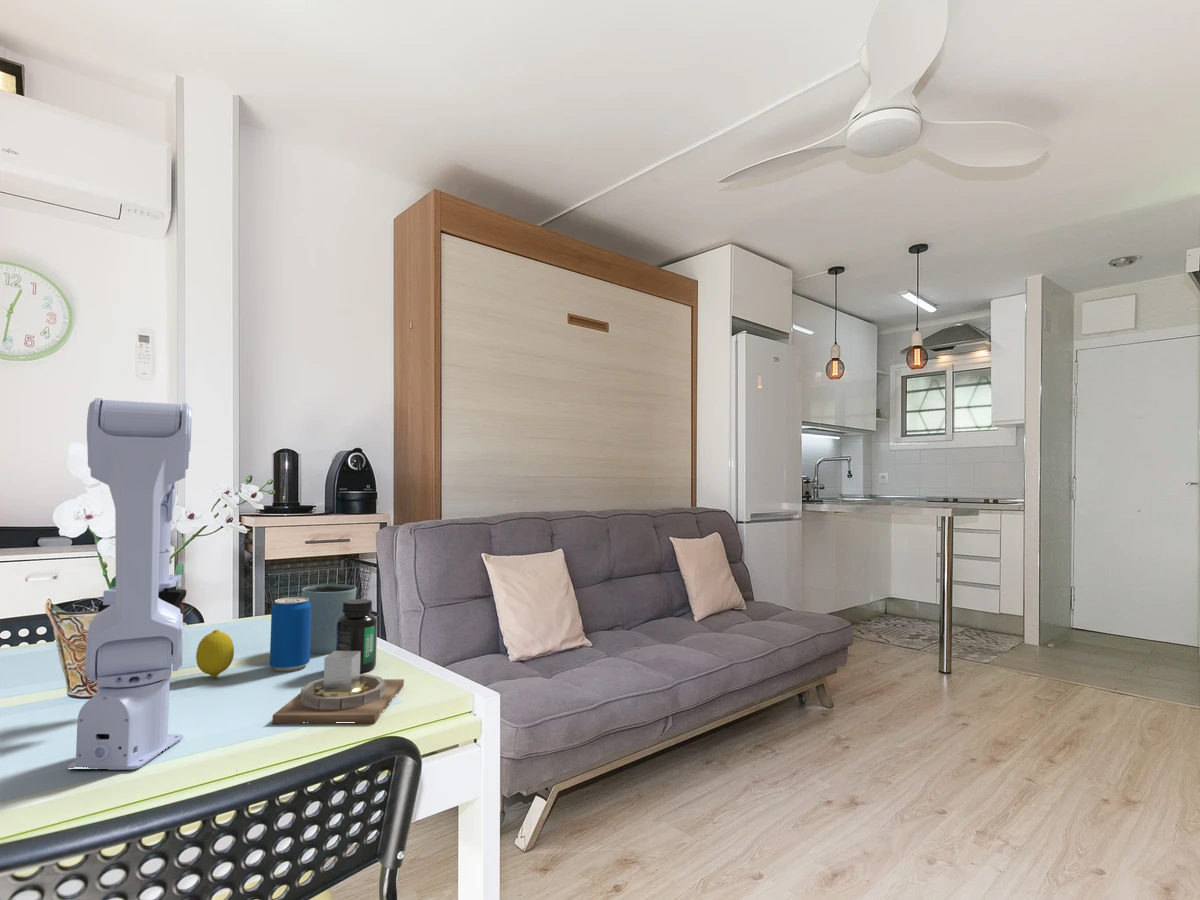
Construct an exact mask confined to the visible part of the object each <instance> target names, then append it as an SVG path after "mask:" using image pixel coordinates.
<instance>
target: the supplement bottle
mask: <svg viewBox="0 0 1200 900" xmlns="http://www.w3.org/2000/svg"><path fill="white" fill-rule="evenodd" d="M372 607H373V601H372V600H371V599H369V598H355V599H352V600H347V601H344V602H343V610H342V612H343V613H344V616H342V617H341V618H339V620H338V621H337V625H336V651H361V654H360V674H364V673H367V671H368V672H370V671H369V670H371V671H373V670H374V669H375V668H376V666H377V665H376V664H377V644H378V643H377V642H378V638H377V635H378V619H377V618H376V616H375V615H373V614H371V612H372V611H373V608H372ZM373 668H374V669H373ZM363 672H364V673H363Z"/></svg>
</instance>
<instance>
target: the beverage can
mask: <svg viewBox="0 0 1200 900" xmlns="http://www.w3.org/2000/svg"><path fill="white" fill-rule="evenodd" d="M308 600H309V598H306V597H302V596H291V597H282V598H278V599H275V600H274V604H273V605H272V607H271V612H270V613H271V614H270V615H271V617H270V623H271V624H270V644H269V645H270V649H269V666H270V667H271V668H273V669H274V670H275V671H276V672H293V671H297V670H301V669H303V668H305V667H306V665H307V664H309V663H310V658H311V656H310V655H311V654H310V630H311V604H310V603H309V601H308Z"/></svg>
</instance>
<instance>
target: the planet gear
mask: <svg viewBox="0 0 1200 900" xmlns="http://www.w3.org/2000/svg"><path fill="white" fill-rule="evenodd" d="M360 654H361V651H334V652H332V653H329V654H328V655H326V657H324V663H323V665H324V666H323V678H324V686H322V687H316V688H315V692H314V695H317V696H321V697H343V696H350V695H356V694H361V693H364V692H367V691H369V687H368V683H367V682H365V681H364V682H360V674H361V673H360Z"/></svg>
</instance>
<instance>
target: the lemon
mask: <svg viewBox="0 0 1200 900" xmlns="http://www.w3.org/2000/svg"><path fill="white" fill-rule="evenodd" d="M234 648H235V647H234V643H233V640H232V638H231V637H230V636H229V634H227V633H225V632H223V631H220V629H214V630H212V632H210V633H207V635H205V636H203V638H202V639H201V640H200V641H199V644H198V645H197V649H196V652H195V660H196V664H197V666H198V669H199V670H200V671H201V672H202V673H203V674H206V675H209V676H210V677H211V678H217V677H219V675H220V674H221V673H223V672H225V671H226V670H227V669H228V668H229V667H230V666H231V664H232V662H233V659H234V655H235V654H234V653H235V649H234Z"/></svg>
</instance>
